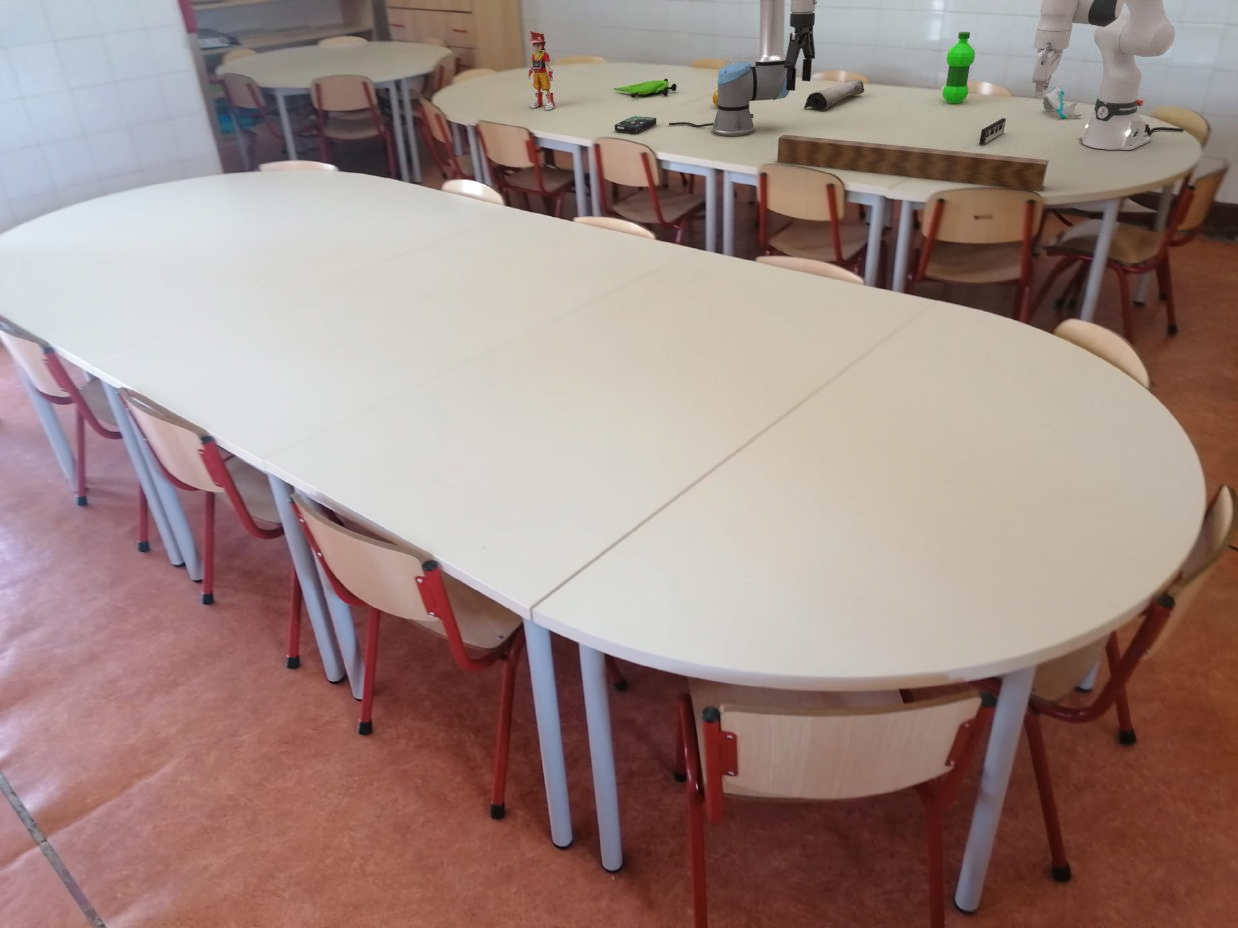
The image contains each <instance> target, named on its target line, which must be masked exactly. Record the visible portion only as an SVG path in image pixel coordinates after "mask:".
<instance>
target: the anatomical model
mask: <svg viewBox="0 0 1238 928" xmlns="http://www.w3.org/2000/svg"><path fill="white" fill-rule="evenodd" d="M1064 95H1065V91H1064V89H1063V90H1061V88H1060V87H1053V88H1052V90H1051V92H1048V93H1045V94H1044V95H1043V98H1042V105H1043V109H1044V110H1046V111H1053V110H1055V112H1057V115H1058V116H1059V118H1060V119H1068V118H1071V117H1075V118H1077V117H1081V115H1082V113H1081V112H1076V110H1075V108H1076V106H1077V105H1078V104H1079V103H1078V102H1072V103H1071V104H1069V105H1065V103H1066V102H1064V98H1063V96H1064Z"/></svg>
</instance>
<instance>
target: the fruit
mask: <svg viewBox="0 0 1238 928" xmlns="http://www.w3.org/2000/svg"><path fill="white" fill-rule="evenodd" d="M712 103H713V105H714V106H715V107H716V108H718V89H717V90H716V91H714V92H713V94H712Z"/></svg>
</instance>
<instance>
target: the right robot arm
mask: <svg viewBox="0 0 1238 928" xmlns="http://www.w3.org/2000/svg"><path fill="white" fill-rule="evenodd" d="M1124 4H1125V5H1126V7H1127V10H1128V13H1126V12H1122V10H1123V7H1124ZM1165 10H1166V9H1165V7H1164V1H1163V0H1042V2H1041V5H1040V12H1039V13H1040V19H1039V22H1038V24H1037V27H1036V31H1035V36H1034V42H1033V48H1034V49H1036V54H1037V57H1036V60H1035V64H1034V69H1033V73H1032V77H1031V78H1032V79H1031V82H1032V83H1033V84H1035V88H1034V98H1037V99H1039V98H1041V97H1042V96H1043V93H1044V91H1047V90H1048V89H1049V85H1050V82H1051V79H1052V75H1053V74H1054V73H1055V72H1056V71H1057V69H1058V67H1059V65H1060V62H1061V60H1062V56H1063V53H1064V50H1066V49H1068V48H1069V45H1070V41H1071V36H1072V30H1073V24H1081V25H1082V24H1083V25H1091V26H1095V29H1094V32H1093V40H1094V43H1095V45H1096V47H1098V49H1099V50H1100V54H1101V59H1102V66H1103V72H1102V80H1101V84H1100V85H1101V86H1100V89H1099V94H1098V97H1097V99H1096V100H1095V103H1094V107H1093V108H1094V109H1093V110H1094V112H1093V113H1091V114H1090V116H1089V119H1088V121H1087V124H1086V125H1085V131H1084V133H1083V134H1081V135H1080V137H1079V139H1080V140H1081V141H1082V144H1083V145H1085V146H1086V147H1089V148H1094V149H1099V150H1110V151H1111V150H1114V151H1115V150H1116V151H1117V150H1122V151H1132V150H1135V149H1137V148H1139V147H1140V146H1143V145H1145V144H1147V143H1149V142H1151V140H1152V139H1151V137H1150V136H1151V135H1152V134H1153V132H1155V131H1171V132H1184V131H1185V128H1179V127H1168V126H1167V127H1166V126H1159V127H1153V128H1150V124H1148V123H1146V121H1145V120H1144V119H1143V118H1142V117H1141V116H1140V114H1139V113H1138V112H1137V111H1138V107H1140V108H1141V107H1143V105H1144V103H1145V101H1144V99H1139V98H1138V94H1139V91H1140V87H1141V83H1142V79H1143V74H1142V72H1141V70H1140V69H1139V67H1138V66H1137V64H1136V61H1135V56H1136V57H1142V58H1151V57H1154V58H1155V57H1160V56H1162V55H1164V54H1165V53H1166V52H1167V51H1168V50H1169V49H1170V48H1171V46H1172V45H1173V43H1174V41H1175V37H1176V29H1175V26H1174V24H1173V23H1172V22H1171V21H1170V19H1169V18H1168V15H1167V13H1166V11H1165ZM1137 98H1138V99H1137ZM1145 133H1146V134H1147V135H1145Z"/></svg>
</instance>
